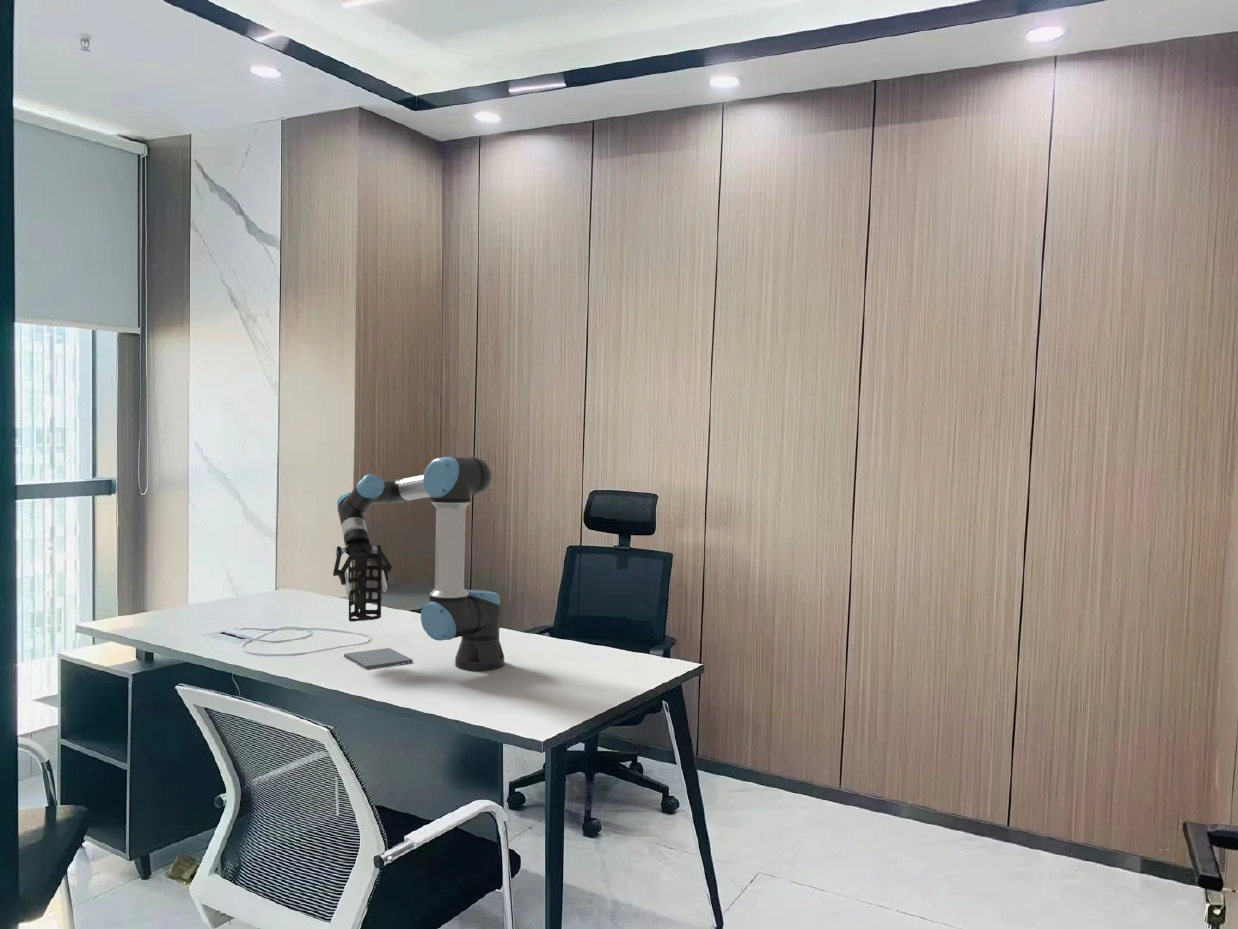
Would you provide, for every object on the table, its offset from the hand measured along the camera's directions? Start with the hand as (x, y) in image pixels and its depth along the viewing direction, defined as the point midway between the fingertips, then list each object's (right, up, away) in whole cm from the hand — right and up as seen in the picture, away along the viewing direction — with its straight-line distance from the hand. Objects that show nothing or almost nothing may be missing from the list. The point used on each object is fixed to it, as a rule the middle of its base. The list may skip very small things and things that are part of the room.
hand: (367, 591), depth 272 cm
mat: (+1, -23, +8) cm, 24 cm away
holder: (-2, -9, +3) cm, 10 cm away
